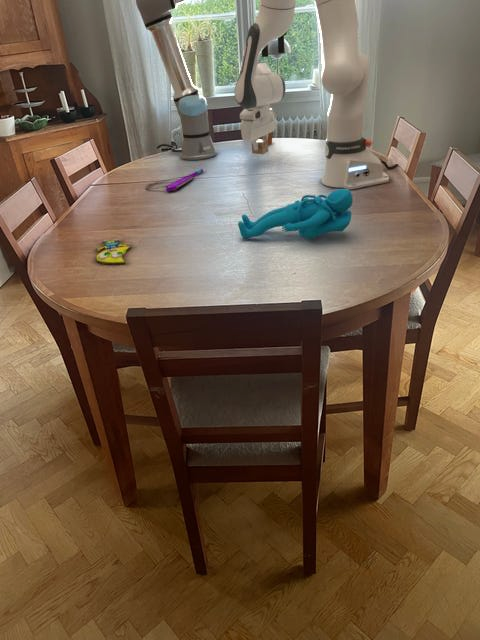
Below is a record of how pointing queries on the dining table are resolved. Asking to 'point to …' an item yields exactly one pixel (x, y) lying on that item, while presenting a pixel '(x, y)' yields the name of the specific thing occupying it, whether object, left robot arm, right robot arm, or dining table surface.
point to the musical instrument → (178, 181)
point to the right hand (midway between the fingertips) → (260, 148)
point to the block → (261, 147)
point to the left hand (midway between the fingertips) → (273, 55)
